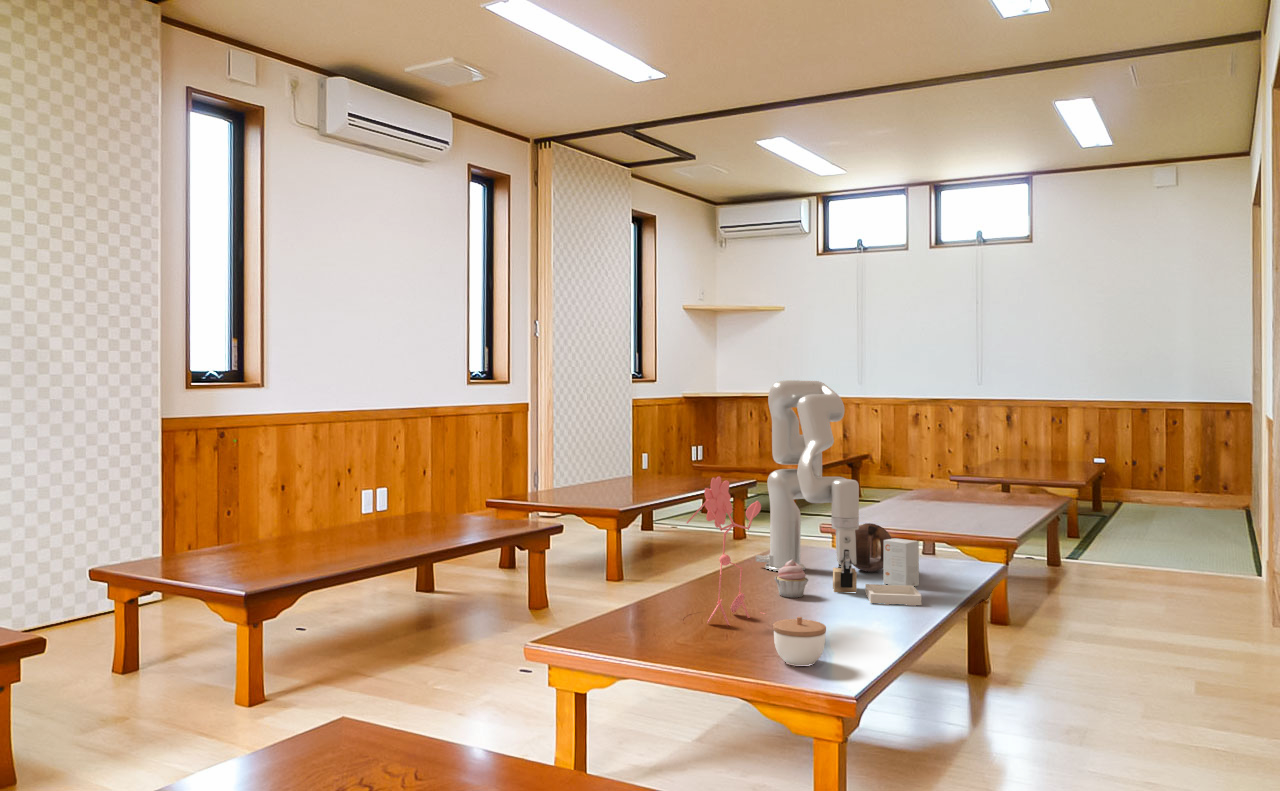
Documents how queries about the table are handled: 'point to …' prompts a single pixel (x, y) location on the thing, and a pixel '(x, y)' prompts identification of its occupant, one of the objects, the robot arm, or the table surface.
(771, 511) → the robot arm
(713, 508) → the figurine
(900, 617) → the table surface
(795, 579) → the cupcake
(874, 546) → the wooden sphere
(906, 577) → the small box
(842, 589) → the cube
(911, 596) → the tray
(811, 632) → the lidded jar
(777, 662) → the table surface
